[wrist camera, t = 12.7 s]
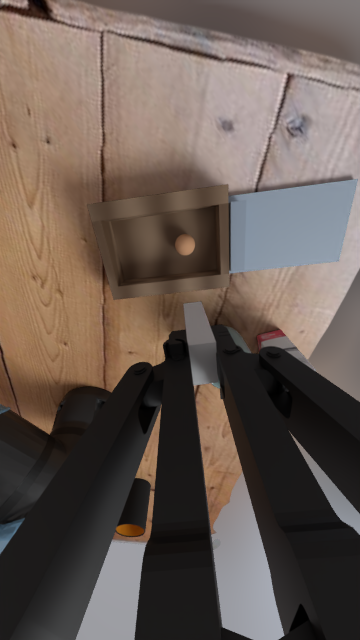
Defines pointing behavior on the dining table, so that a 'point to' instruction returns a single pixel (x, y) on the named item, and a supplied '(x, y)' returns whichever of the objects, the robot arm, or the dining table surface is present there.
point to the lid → (289, 226)
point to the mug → (135, 510)
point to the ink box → (281, 345)
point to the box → (164, 242)
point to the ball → (185, 244)
